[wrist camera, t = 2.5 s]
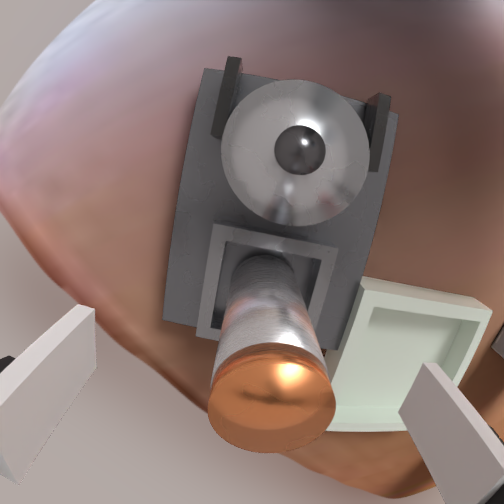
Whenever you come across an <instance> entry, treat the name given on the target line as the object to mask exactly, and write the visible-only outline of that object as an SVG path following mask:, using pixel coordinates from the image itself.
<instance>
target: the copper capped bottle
mask: <svg viewBox="0 0 504 504" xmlns="http://www.w3.org/2000/svg"><path fill="white" fill-rule="evenodd" d="M335 411H336V400H335V396H334V392H333V389H332V386H331V383H330V376H329V372H328V369H327V366H326V363H325V360H324V357H323V355H322V352H321V349H320V346H319V343H318V340H317V337H316V334H315V331H314V328H313V326H312V323H311V320H310V317H309V314H308V311H307V309H306V306H305V303H304V300H303V297H302V295H301V292H300V289H299V286H298V283H297V281H296V278H295V275H294V273H293V271H292V269H291V268H290V266H289V265H288V264H287V263H286V262H284V261H283V260H281V259H280V258H277V257H275V256H271V255H257V256H253V257H250V258H248V259H246V260H245V261H243V262H242V263H241V264H240V265H239V266H238V267H237V268H236V270H235V272H234V274H233V276H232V280H231V284H230V289H229V294H228V299H227V304H226V309H225V314H224V319H223V323H222V328H221V333H220V338H219V343H218V348H217V353H216V358H215V363H214V369H213V374H212V379H211V392H210V398H209V403H208V417H209V420H210V423H211V425H212V427H213V429H214V430H215V431H216V433H217V434H218V435H219V436H220V437H221V438H223V439H224V440H225V441H227V442H228V443H230V444H232V445H234V446H236V447H238V448H241V449H244V450H248V451H252V452H259V453H279V452H285V451H290V450H293V449H297V448H299V447H302V446H304V445H306V444H308V443H310V442H312V441H313V440H315V439H316V438H318V437H319V436H320V435H321V434H322V433H323V432H324V431H325V430H326V429H327V428H328V426H329V425H330V423H331V422H332V420H333V417H334V415H335Z"/></svg>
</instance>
